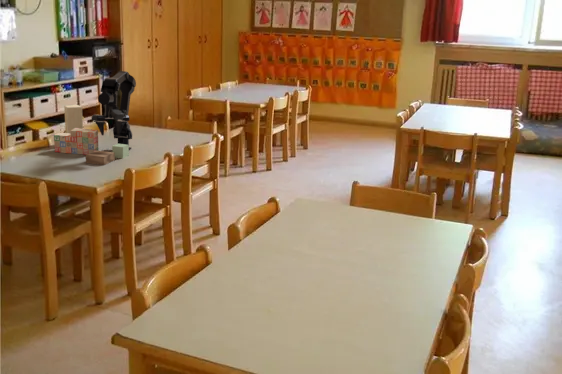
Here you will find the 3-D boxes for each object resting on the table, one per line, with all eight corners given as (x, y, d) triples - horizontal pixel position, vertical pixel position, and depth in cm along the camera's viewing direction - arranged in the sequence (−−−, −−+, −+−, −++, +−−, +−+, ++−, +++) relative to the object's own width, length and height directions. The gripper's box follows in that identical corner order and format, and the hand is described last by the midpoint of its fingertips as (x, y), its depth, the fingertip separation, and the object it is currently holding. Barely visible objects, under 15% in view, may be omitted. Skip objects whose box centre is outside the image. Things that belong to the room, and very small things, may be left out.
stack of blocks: (54, 152, 313) (53, 129, 309) (59, 149, 319) (58, 126, 315) (94, 155, 311) (93, 132, 308) (98, 152, 317) (98, 129, 314)
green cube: (118, 154, 315) (118, 143, 313) (128, 156, 314) (128, 144, 312) (112, 157, 309) (112, 146, 308) (123, 158, 308) (122, 147, 306)
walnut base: (96, 158, 306) (96, 150, 305) (114, 160, 304) (114, 152, 303) (86, 162, 297) (85, 154, 296) (104, 165, 294) (104, 157, 293)
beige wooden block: (80, 142, 336) (78, 104, 330) (83, 144, 330) (82, 107, 324) (65, 143, 332) (63, 105, 326) (68, 146, 326) (66, 107, 320)
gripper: (103, 105, 289) (103, 137, 292) (136, 105, 303) (135, 136, 306) (91, 103, 296) (90, 135, 299) (123, 103, 310) (122, 134, 313)
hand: (110, 135), depth 304 cm, fingers open, 9 cm apart
